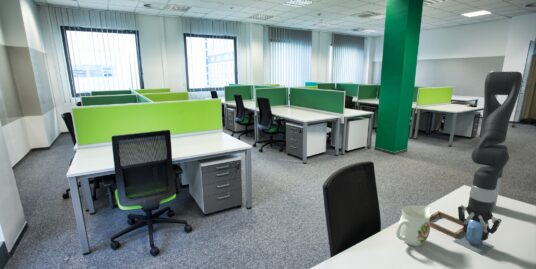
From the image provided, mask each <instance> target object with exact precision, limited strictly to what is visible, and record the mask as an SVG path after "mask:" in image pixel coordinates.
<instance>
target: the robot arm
mask: <svg viewBox="0 0 536 269" xmlns="http://www.w3.org/2000/svg"><path fill="white" fill-rule="evenodd" d="M522 84H523V73H522V72H519V71H492V72H489V73H488V74H487V75H486V77H485V80H484V88H483V89H484V90H483V92H484V98H483V103H484V104H483V110H482V116H481V131H480V139H479V141H478V142H477V144H476V146H474V149H473V150H472V153H471V156H470V158H471V160H472V162H473V163H475V164H477V165H482V166H481V167H479V168H478V169H477V170H475V172H474V175H473V180H472V185H471V188H470V192H469V198H468V202H467V206H464V205H462V204H461V205H459V206H458V207H457V212H458V213H457V214H458V215H457V216H458V219H459V220H460V221H462V222H463V223H464V226H462V228H463V231H464V233H463V234H466V232H467V227H468V221H469V219H473V220H475V221H478V222H480V223H481V224H482V227H483V230H484V232H483V234H482V239H481V240H483V241H484V242H485V241H487V240H488V239H489V234H491V235H493V234H495V233H496V232H497V230H498V228H499V226H500V225H501V223H502V221H503V220H502V219H501V218H496V217H494V215H493V211H495V210H496V207H497V202H498V197H499V192H500V188H501V182H502V178H503V171H504V168H505V167H506V165H507V163H508V162H509V160H510V153H509V152H508V150H509V149H508V146H507V145H505V144H503V143H505V141H506V139H507V135H508V129H509V124H510V120H511V117H512V114H513V112H514V109H515V106H516V103H517V100H518V98H519V95H520V92H521V88H522ZM497 96H506V98H505V100H504V101H503V102H502V103H500V102H499V99H497ZM465 212H467V215H468V216H465V214H466V213H465ZM490 220H491V222H492V225H491V228H490V223H489V221H490ZM485 222H487V223H486V224H485Z"/></svg>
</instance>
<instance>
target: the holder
mask: <svg viewBox="0 0 536 269" xmlns="http://www.w3.org/2000/svg"><path fill="white" fill-rule="evenodd" d="M438 217H440V218H444V219H446V220H448V221H451V222H452V223H455V224H457V225H460V226H461V227H462V228H460V229H458V230H457V231H455V232H454V231H452V230H449V229H447V228H445V227H443V226H441V225H438V224H437V223H434V222H432V220H434V219H436V218H438ZM429 223H430V228H432V229H435V230H437V231H438V232H441V233H443V234H445V235H447V236H449V237H452V238H454V239H457V238H459V237H460V236H462V235H463V234H465V233H464V231H463V226H464V223H463V222H462V221H460V220H459V218H457V217H454V216H451V215H450V214H446V213H444V212H442V211H440V210H438V211H436V212H434V213H431V217H430V219H429Z"/></svg>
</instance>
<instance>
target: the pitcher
mask: <svg viewBox="0 0 536 269" xmlns="http://www.w3.org/2000/svg"><path fill="white" fill-rule="evenodd" d="M431 215H432V213H431V206H429V205H406V206H405V205H404V206H402V208H401V216H400V218H399V221H398V222H399V223H398V224H397V226H396V231H395V233H396V234H395V235H396V237H397V239H398V240H400V241H404V243H405V244H407V245H410V246H413V247H420V246H422V245H423V244H424V243H425V242H426V241H427V239H428V237H429V236H430V232H431V227H430V223H429V219H430V217H431Z"/></svg>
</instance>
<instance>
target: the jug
mask: <svg viewBox="0 0 536 269" xmlns="http://www.w3.org/2000/svg"><path fill="white" fill-rule="evenodd" d="M486 223H487V222H485V224H486ZM483 232H484V230H483V227H482V224H481V223H480V222H478V221H475V220H473V219H469V221H468V227H467V232H466V233H465V234H466V240H467V241H469V242H470V243H473V244H477V245H481V244H482V243H483V240H481V239H482V234H483Z"/></svg>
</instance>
